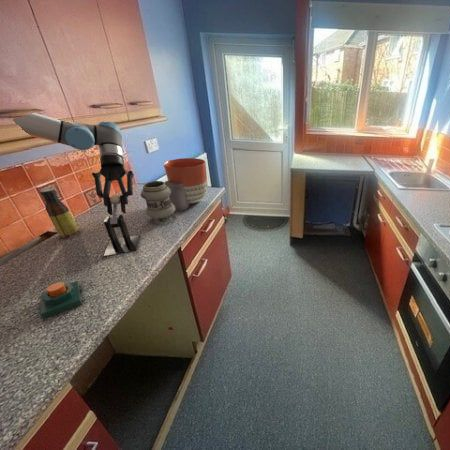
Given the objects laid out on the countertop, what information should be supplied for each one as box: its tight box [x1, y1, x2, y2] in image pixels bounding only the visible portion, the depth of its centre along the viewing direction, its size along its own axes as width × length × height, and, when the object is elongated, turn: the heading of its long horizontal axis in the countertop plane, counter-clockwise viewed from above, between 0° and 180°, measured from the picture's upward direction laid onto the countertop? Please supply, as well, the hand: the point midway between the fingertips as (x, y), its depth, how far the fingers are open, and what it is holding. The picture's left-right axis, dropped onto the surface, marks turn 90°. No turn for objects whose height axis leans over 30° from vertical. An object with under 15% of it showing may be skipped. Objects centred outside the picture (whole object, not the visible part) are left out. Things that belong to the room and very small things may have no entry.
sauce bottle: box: [39, 187, 80, 239], centre depth 96 cm, size 6×6×20 cm
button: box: [45, 281, 67, 297], centre depth 68 cm, size 4×4×2 cm
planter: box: [163, 157, 208, 205], centre depth 131 cm, size 20×20×21 cm
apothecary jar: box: [140, 180, 176, 223], centre depth 111 cm, size 12×12×18 cm
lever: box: [109, 194, 121, 229], centre depth 93 cm, size 14×4×4 cm, turn 24°
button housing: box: [39, 280, 83, 320], centre depth 70 cm, size 10×8×4 cm
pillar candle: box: [163, 180, 190, 212], centre depth 125 cm, size 10×10×15 cm
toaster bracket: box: [103, 214, 141, 257], centre depth 92 cm, size 12×10×13 cm
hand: (116, 212), depth 94 cm, fingers closed on lever, 4 cm apart
